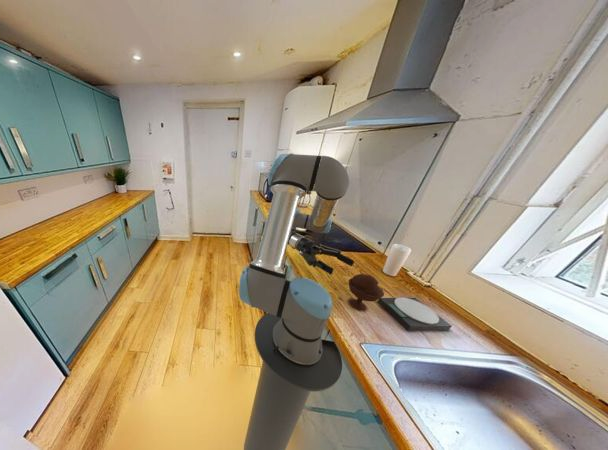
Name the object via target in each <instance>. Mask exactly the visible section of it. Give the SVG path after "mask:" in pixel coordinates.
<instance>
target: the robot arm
mask: <svg viewBox="0 0 608 450" xmlns="http://www.w3.org/2000/svg"><path fill="white" fill-rule="evenodd" d="M272 162H273V163H272V164H271V166H270V169H269V174H268V177H267V184H268V186H269V187H270V192H271V193H272V194H273V195H272V198H271V203H270V206H269V210H268V213H267V216H266V221H265V225H264V228H263V233H262V236H261V239H260V243H259V246H258V250H257V254H256V257H255V259H254V260H252V261H251V262H250V263H249V266H244V267H243V268H242V272H241V274H240V278H239V286H238V296H239V300H240V301H241V302H242V303H244V304H246V305H248V306H250V307H252V308H254V309H256V310H257V309H258V310H260V311H262V312H265V313H266V314H267V313H270V314H272V315H274V316H277V317H280V318H281V319H280V321H278V322H277V323H276V325H275V326H274V328H273V332H272V341H273V344H274V346H275V348H274V349H273V351H274V352H275V351H276V350H277V351H278V352H279V353H280V354H281V355H282V356H283V357H284V358H285V359H286V360H288V361H289V362H291V363H293V364H295V365H298V366H303V367H310V366H313V365H315V364H317V363H318V362H319V360H320V358H321V355H322V340H323V339H322V335H323V332H324V330H325V327H326V325H327V323H328V319H330V317H331V313H332V308H333V298H332V296H331V295H330V293H329V292H328V290H327V289H325V287H324V286H323V285H321V284H320V283H318V282H316V281H315V280H313V279H311V278H308V277H295V278H292V279H291V280H287V279H285V277H286V272H285V271H284V269H283V264H284V260H285V257H286V252H287V248H288V246H289V247H291V248H293V249H295V250H297V251H298V252H299V255H300V256H301V257H302V259H304V261H305V262H306V264H307V265H308V266H309V267H313V268H315V267H317V268H319V269H320V270H322V271H325V272H326V273H327V274H329V275H330V276H332V275H333V272H334V268H333V267H332V266H330V265H328V264H327V263H325V262H324V261H321V260H320V259H318V258H317V255H320V256H322V255H324V256H327V257H328V256H329V257H333V258H336V259H337V260H339V261H341V262H342V263H344V264H346V265H348V266H350V267H353V265H354V262H355V260H354V259H352V258H350V257H348V256H347V255H345V254H343V253H342V250H340V249H337V248H334V247H330V246H327V245H323V244H321V243H318V244H317V245H315V244H314V243H313V241H312V240H311V239H309V238H308V237H305V236H304V235H301V234H299V233H297V232H296V230H297V229H302V230H307V231H312V232H317V233H322V234H329V232H330V230H331V227H332V223H333V220H332V219H331V216H332V214H333V212H334V210H335V208H336V206H337V204H338V202H339V200H340V199H342V198H343V197H344V196H345V195H346V193H347V191H348V189H349V186H350V177H349V174H348V171H347V169H346V167H345V166H344V165H343V164H342V163H341V162H340V161H339V160H337V159H336V158H333V157H332V156H327V155H313V154H296V153H281V154H279V155H277V156H276V157H275V159H274V161H272ZM307 192H314V193H315V194H316V196H315V200H314V203H313V206H312V209H311V213H310V214H307V213H302V212H301V209H300V208H298V206H299V202H300V199H302V198H304V197H306V193H307Z"/></svg>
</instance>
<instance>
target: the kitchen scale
mask: <svg viewBox="0 0 608 450" xmlns="http://www.w3.org/2000/svg"><path fill="white" fill-rule="evenodd" d="M377 304H379V305H380V307H382V308H383V309H384V310H385V311H386V312H387V313H388V314H389V315H390V316H392V318H394V320H395V321H396V322H398V324H400V326H401V327H403V328H404V329H405V330H406V331H407V332H415V331H416V332H417V331H419V332H425V331H426V332H427V331H428V332H429V331H433V332H435V331H449V330H450V329H451V328H452V325H451V324H450V323H449V322H448V321H446V319H444V318H442V317H441V316H440V315H439V314H437V313H436V312H435V311H434V310H433V309H431V308H430V307H428V306H426V304H424V303H423V302H422V301H420V300H419V299H417V298H416V297H382V298H380V299H378V300H377Z"/></svg>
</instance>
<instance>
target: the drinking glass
mask: <svg viewBox="0 0 608 450" xmlns="http://www.w3.org/2000/svg"><path fill="white" fill-rule="evenodd" d="M411 253H412V249H411V248H410V247H409V246H406V245H403V244H400V243H394V244H393V243H392V245H391V247H390V249H389V252H388V254H387V257H386V260H385V262H384V266H383V268H382V272H383V273H384V274H385V275H387V276H390V277H397V275H398V273H399V272H400V270H401V269H402V267H403V266H404V264H405V263H406V261H407V260H408V258H409V256H410V255H411Z"/></svg>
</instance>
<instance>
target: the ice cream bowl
mask: <svg viewBox="0 0 608 450" xmlns="http://www.w3.org/2000/svg"><path fill="white" fill-rule="evenodd" d="M348 288H349V291H350V292H351V294H352V295H353V296H354V297H356V299H354V298H352V299H350V300H349V301H348V302H349V305H350V306H351V307H352V308H353V309H355V310H357V311H366V310H367V307H366V305H365V303H363V302H369V303H371V302H373V303H374V302H376V301H378V300H379V299H380V298H384V296H385V293H384V289H383V288H382V287H380V286H379V280H377V278H375V276H373V275H371V274H366V273H358V274H355V275H353V276H352V278H349V279H348Z"/></svg>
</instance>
